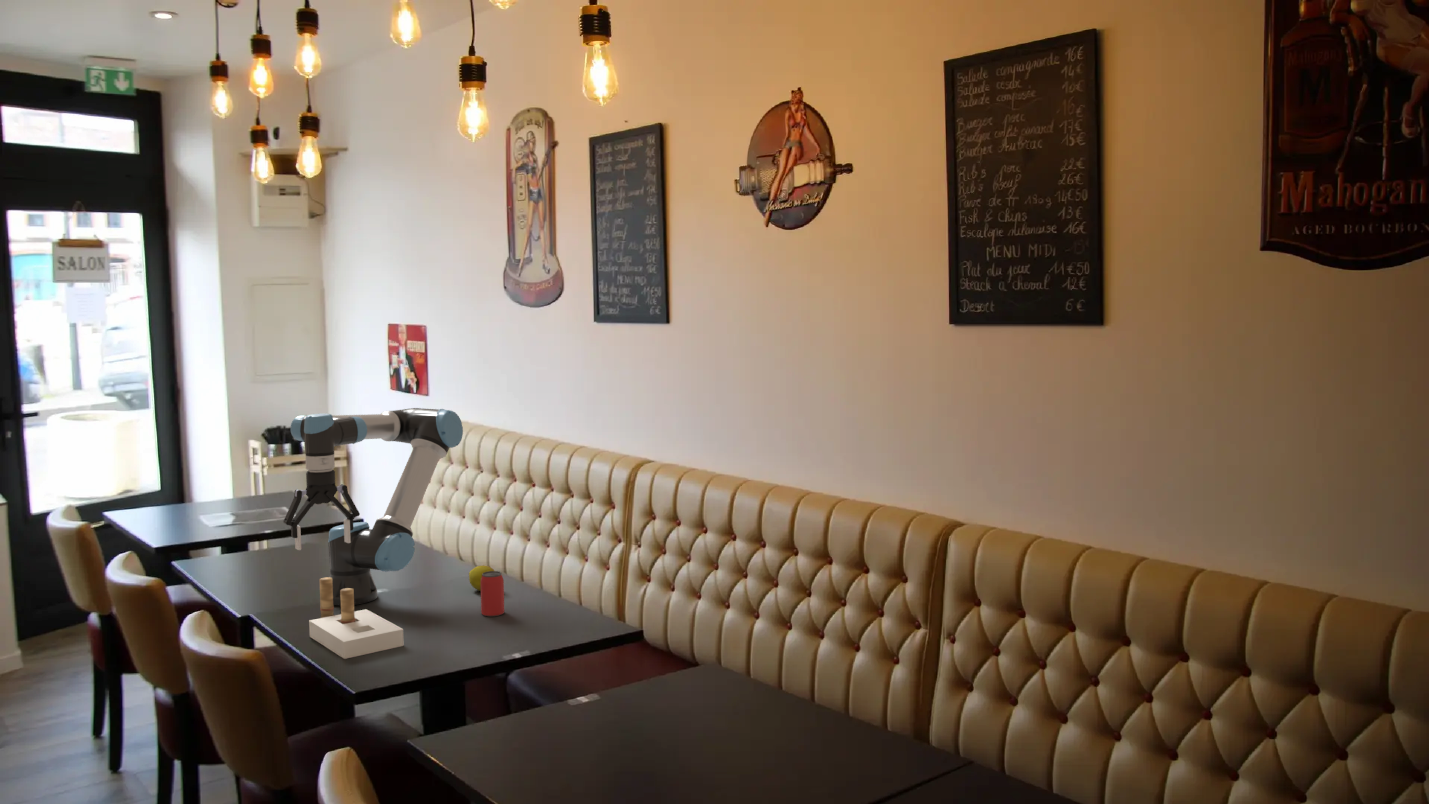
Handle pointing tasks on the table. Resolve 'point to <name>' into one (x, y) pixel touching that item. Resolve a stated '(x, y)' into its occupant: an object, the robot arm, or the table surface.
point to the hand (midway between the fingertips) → (323, 545)
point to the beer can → (492, 594)
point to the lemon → (478, 575)
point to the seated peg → (347, 605)
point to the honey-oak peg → (326, 597)
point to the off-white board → (356, 634)
